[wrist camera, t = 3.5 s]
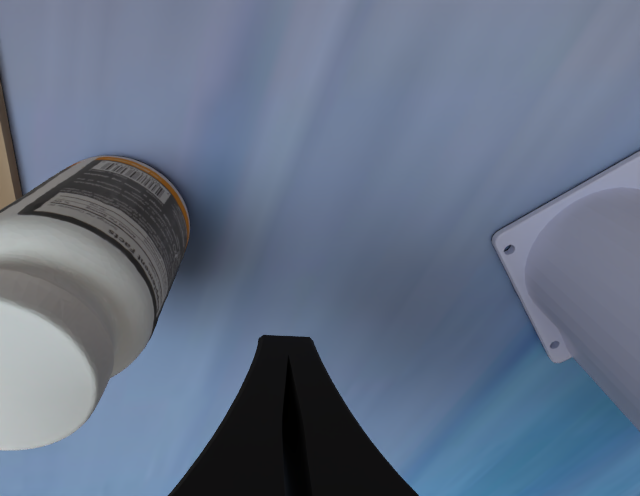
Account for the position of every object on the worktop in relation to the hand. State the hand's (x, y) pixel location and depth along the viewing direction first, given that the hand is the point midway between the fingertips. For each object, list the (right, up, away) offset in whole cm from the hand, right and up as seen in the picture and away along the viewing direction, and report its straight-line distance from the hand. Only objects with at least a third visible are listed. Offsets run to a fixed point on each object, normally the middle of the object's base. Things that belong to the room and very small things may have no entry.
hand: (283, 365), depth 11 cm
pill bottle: (-7, +5, +7) cm, 11 cm away
